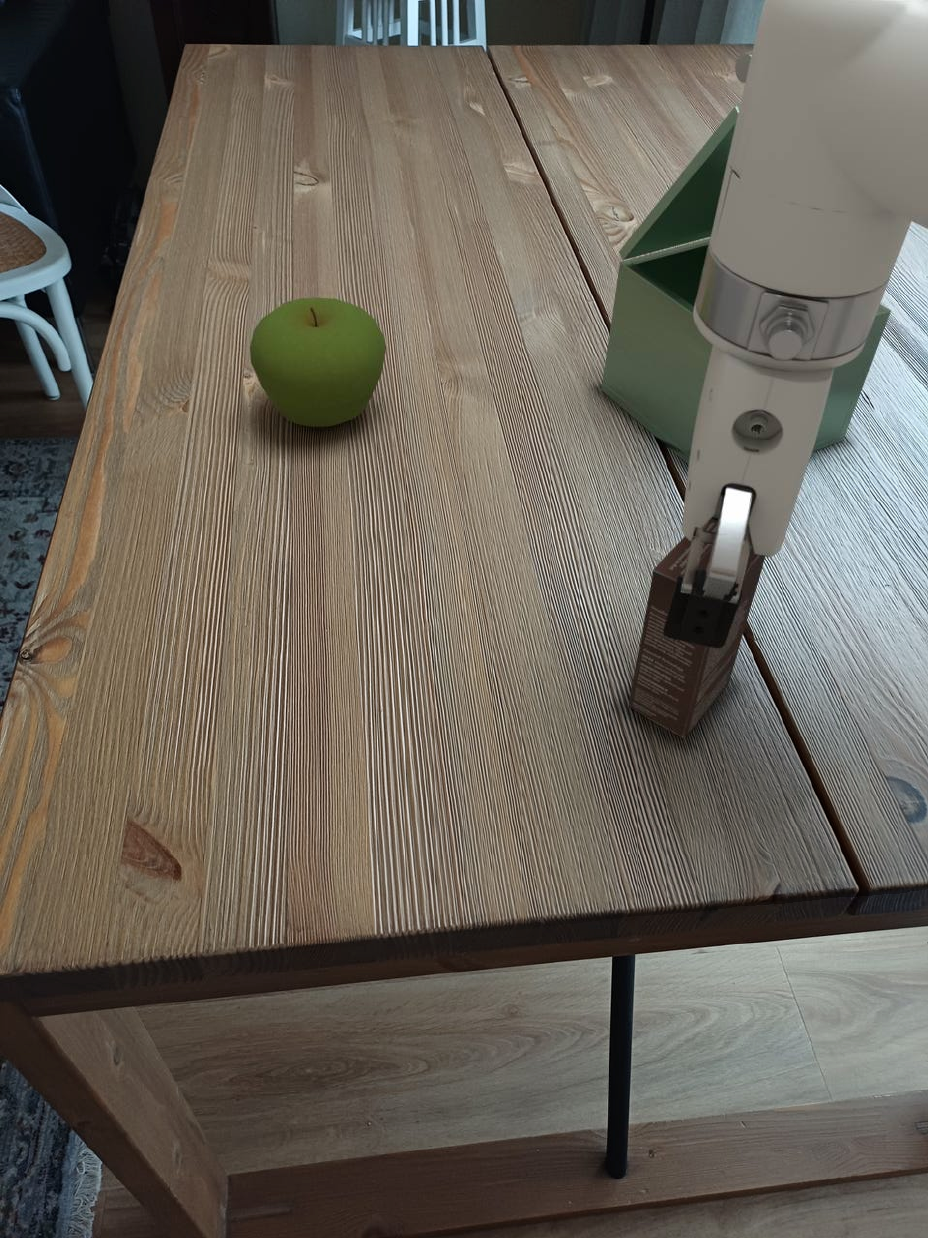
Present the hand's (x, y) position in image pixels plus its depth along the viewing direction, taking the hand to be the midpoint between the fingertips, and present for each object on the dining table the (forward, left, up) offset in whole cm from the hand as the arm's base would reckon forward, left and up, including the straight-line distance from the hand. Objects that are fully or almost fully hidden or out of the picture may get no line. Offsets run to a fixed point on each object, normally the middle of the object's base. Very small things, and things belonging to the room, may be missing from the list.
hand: (702, 577), depth 55 cm
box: (0, 0, -10) cm, 10 cm away
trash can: (0, -32, -10) cm, 33 cm away
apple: (+32, -22, -10) cm, 40 cm away
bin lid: (+2, -34, +9) cm, 35 cm away
